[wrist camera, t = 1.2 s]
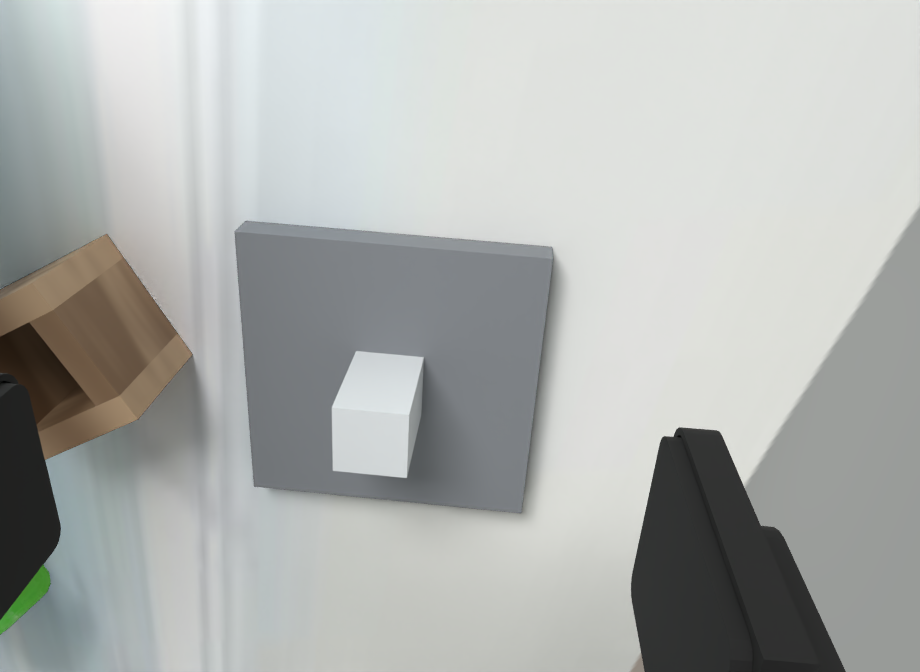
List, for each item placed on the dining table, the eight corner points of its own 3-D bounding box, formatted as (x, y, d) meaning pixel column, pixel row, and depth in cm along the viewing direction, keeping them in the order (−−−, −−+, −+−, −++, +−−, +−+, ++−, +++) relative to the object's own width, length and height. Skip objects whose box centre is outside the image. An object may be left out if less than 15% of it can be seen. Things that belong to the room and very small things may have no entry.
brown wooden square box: (86, 402, 40) (18, 471, 35) (-3, 291, 37) (-92, 346, 32) (192, 354, 38) (137, 419, 33) (106, 233, 35) (31, 282, 30)
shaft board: (263, 469, 41) (219, 553, 35) (245, 221, 35) (189, 273, 29) (521, 494, 40) (520, 585, 35) (551, 247, 34) (557, 306, 28)
